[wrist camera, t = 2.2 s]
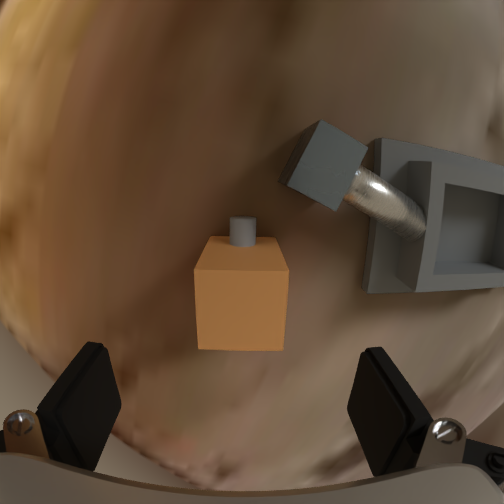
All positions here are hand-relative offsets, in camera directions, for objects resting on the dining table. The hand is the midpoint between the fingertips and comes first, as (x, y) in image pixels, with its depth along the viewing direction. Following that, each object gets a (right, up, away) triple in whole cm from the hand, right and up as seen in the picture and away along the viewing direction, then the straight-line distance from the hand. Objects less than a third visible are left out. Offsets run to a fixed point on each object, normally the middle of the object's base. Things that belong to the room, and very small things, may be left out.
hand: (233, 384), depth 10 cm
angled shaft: (+8, +9, +10) cm, 15 cm away
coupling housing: (+17, +7, +11) cm, 21 cm away
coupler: (0, +4, +11) cm, 12 cm away
